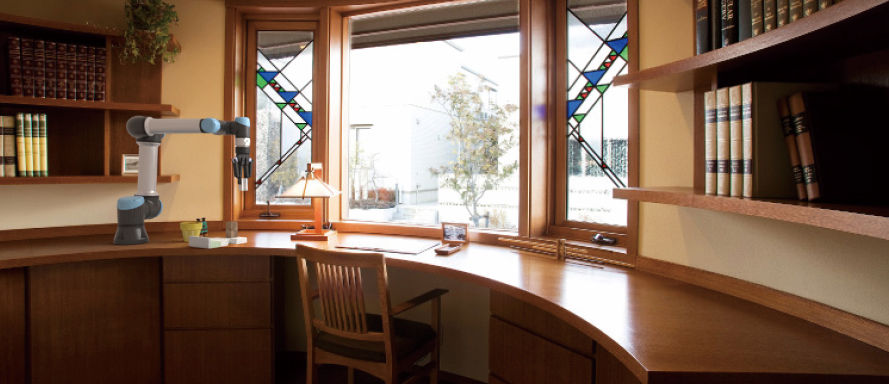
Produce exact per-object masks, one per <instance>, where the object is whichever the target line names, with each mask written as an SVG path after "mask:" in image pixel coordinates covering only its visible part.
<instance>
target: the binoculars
mask: <svg viewBox="0 0 889 384" xmlns="http://www.w3.org/2000/svg"><path fill="white" fill-rule="evenodd" d="M196 222H202V229H201V231H200V235H199V237H208V236H209V234H208V232H209V230H208V223H207V221H206V217H201V218H196Z"/></svg>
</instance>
